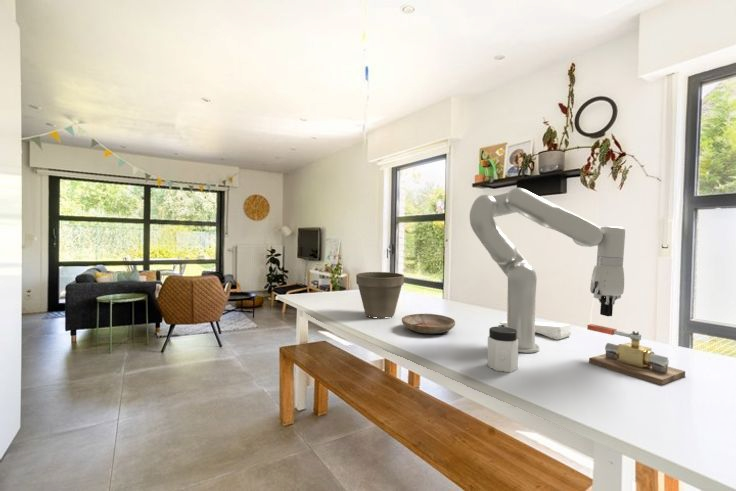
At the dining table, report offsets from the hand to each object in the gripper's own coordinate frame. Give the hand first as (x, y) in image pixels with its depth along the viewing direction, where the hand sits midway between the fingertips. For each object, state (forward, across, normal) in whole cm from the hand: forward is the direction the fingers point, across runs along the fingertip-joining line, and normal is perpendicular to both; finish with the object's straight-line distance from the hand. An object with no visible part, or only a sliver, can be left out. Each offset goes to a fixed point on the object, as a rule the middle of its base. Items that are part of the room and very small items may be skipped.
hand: (606, 315), depth 123 cm
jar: (+16, +40, 0) cm, 44 cm away
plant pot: (+18, +56, -79) cm, 99 cm away
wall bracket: (+16, 0, -34) cm, 38 cm away
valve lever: (+5, +3, +6) cm, 8 cm away
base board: (+14, +1, +12) cm, 18 cm away
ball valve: (+13, +1, +12) cm, 17 cm away
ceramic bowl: (+17, +44, -47) cm, 67 cm away
